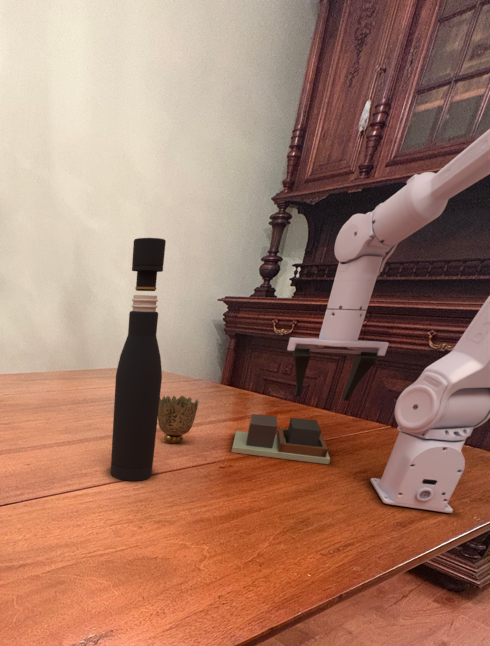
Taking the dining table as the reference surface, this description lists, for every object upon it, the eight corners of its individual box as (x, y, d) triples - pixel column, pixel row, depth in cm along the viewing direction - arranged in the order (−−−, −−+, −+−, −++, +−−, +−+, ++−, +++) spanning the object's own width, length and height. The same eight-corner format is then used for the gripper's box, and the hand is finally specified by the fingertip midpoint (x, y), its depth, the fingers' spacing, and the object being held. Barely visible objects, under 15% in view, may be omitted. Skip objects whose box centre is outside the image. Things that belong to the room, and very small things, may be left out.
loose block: (314, 453, 74) (321, 430, 72) (287, 450, 75) (293, 427, 73) (310, 441, 81) (316, 420, 79) (285, 438, 82) (290, 417, 80)
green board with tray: (328, 464, 72) (338, 435, 70) (231, 452, 77) (236, 424, 74) (321, 445, 82) (329, 419, 80) (235, 435, 87) (240, 410, 84)
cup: (146, 438, 83) (150, 396, 79) (177, 434, 86) (182, 394, 82) (168, 449, 77) (173, 404, 73) (200, 445, 80) (207, 401, 76)
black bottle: (150, 483, 63) (176, 236, 48) (107, 479, 64) (120, 236, 49) (152, 468, 68) (176, 242, 54) (113, 465, 69) (126, 242, 55)
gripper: (391, 310, 69) (362, 397, 76) (295, 308, 73) (276, 390, 80) (403, 311, 63) (371, 404, 70) (298, 308, 67) (277, 396, 74)
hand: (320, 397), depth 75 cm, fingers open, 7 cm apart
